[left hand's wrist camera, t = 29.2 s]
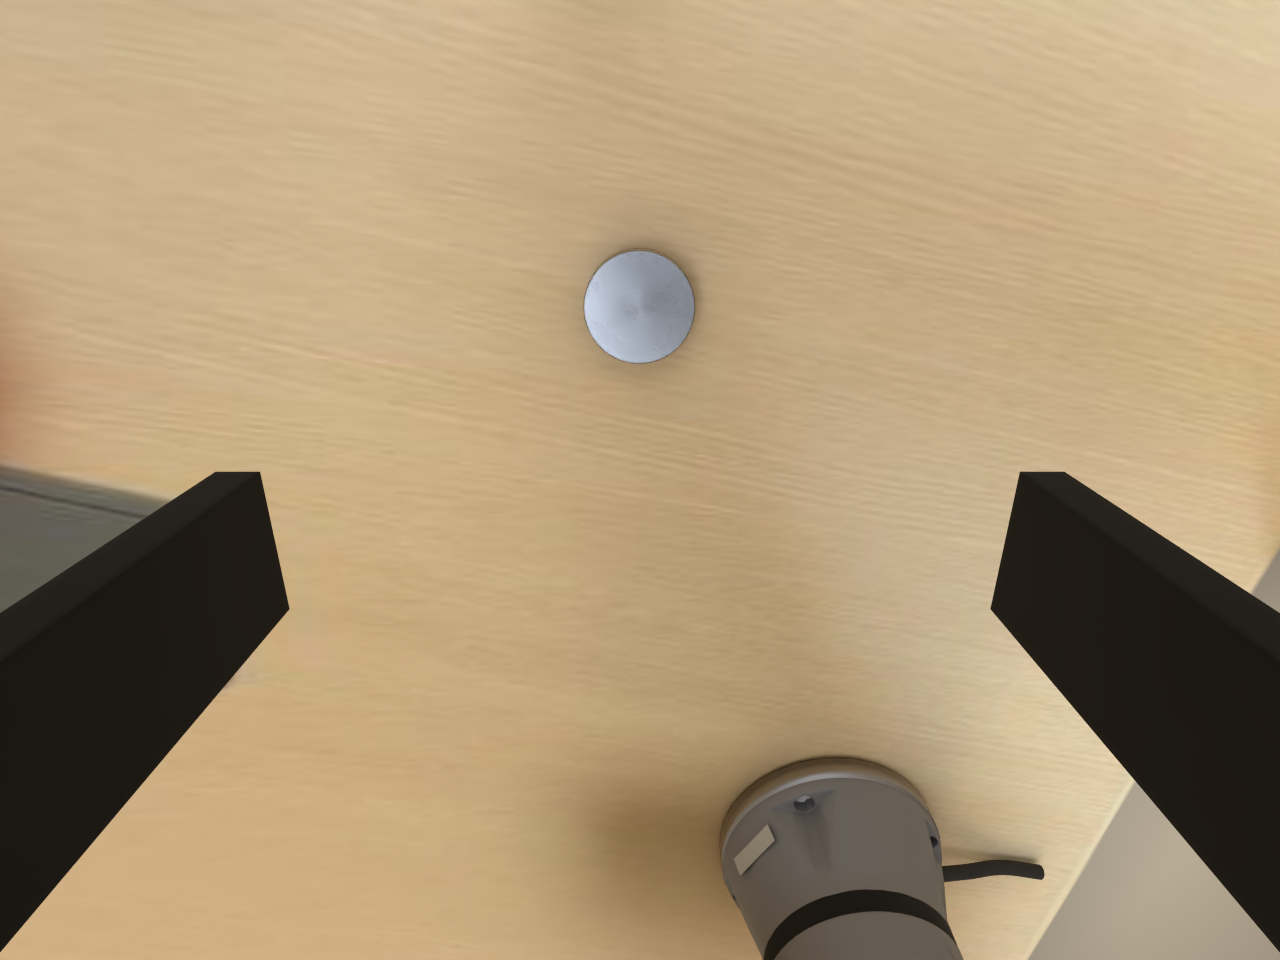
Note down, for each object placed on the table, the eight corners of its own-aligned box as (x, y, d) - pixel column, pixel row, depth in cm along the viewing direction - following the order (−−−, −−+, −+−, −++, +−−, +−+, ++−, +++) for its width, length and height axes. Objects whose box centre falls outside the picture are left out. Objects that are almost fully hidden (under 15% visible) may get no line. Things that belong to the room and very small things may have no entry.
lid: (713, 288, 37) (717, 293, 36) (653, 376, 39) (654, 384, 37) (623, 225, 36) (623, 226, 34) (565, 319, 38) (562, 324, 36)
